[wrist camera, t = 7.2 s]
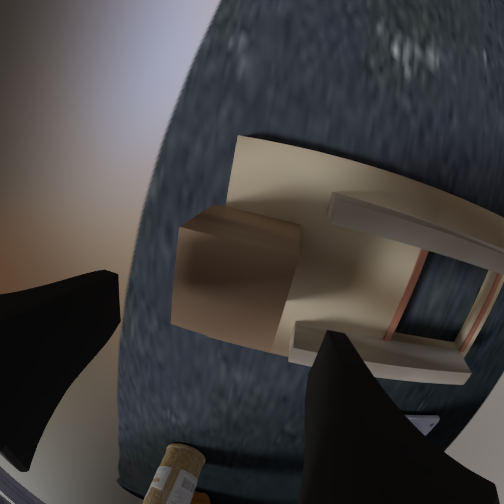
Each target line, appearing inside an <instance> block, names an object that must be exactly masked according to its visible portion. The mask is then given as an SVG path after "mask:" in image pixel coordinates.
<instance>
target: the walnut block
mask: <svg viewBox="0 0 504 504" xmlns="http://www.w3.org/2000/svg"><path fill="white" fill-rule="evenodd" d="M300 230H301V225H300V224H296V223H292V222H288V221H284V220H280V219H276V218H272V217H268V216H263V215H259V214H255V213H251V212H247V211H242V210H238V209H234V208H229V207H225V206H221V205H216V204H214V205H212V206H211V207H209V208H207V209H206V210H204V211H203V212H201V213H200V214H198V215H197V216H195V217H194V218H192V219H191V220H189V221H188V222H186V223H185V224H183V225H182V226H180V227H179V235H178V244H177V253H176V263H175V274H174V286H173V298H172V313H171V324H173V325H176V326H179V327H182V328H185V329H188V330H191V331H195V332H198V333H201V334H204V335H208V336H211V337H214V338H218V339H221V340H225V341H228V342H232V343H235V344H239V345H243V346H247V347H250V348H254V349H258V350H262V351H266V352H271V349H272V346H273V343H274V339H275V336H276V333H277V330H278V327H279V323H280V320H281V317H282V314H283V310H284V307H285V304H286V300H287V297H288V294H289V290H290V287H291V284H292V280H293V277H294V273H295V270H296V266H297V263H298V259H299V250H300Z"/></svg>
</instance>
